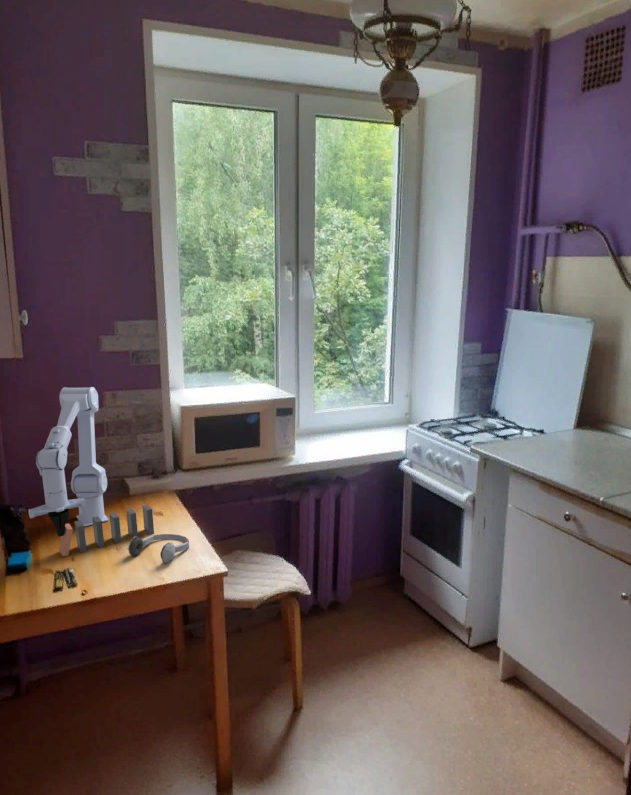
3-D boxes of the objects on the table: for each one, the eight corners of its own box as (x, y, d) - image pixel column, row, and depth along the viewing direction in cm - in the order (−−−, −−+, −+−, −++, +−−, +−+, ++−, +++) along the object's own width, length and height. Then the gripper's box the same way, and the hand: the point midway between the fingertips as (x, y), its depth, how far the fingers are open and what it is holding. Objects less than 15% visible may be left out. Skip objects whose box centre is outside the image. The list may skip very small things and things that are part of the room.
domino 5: (128, 533, 186) (126, 509, 184) (133, 532, 187) (131, 508, 185) (132, 538, 182) (130, 514, 180) (138, 537, 183) (135, 512, 181)
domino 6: (144, 529, 188) (142, 505, 187) (149, 528, 189) (147, 504, 187) (149, 534, 185) (147, 510, 183) (154, 533, 186) (152, 508, 184)
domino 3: (94, 542, 180) (92, 517, 178) (100, 540, 181) (97, 516, 179) (98, 547, 177) (96, 522, 175) (104, 546, 178) (101, 521, 176)
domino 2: (77, 546, 178) (74, 521, 176) (82, 545, 178) (80, 520, 177) (80, 552, 174) (78, 526, 172) (86, 551, 175) (83, 525, 173)
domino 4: (111, 537, 183) (109, 513, 181) (117, 536, 184) (114, 512, 182) (116, 543, 179) (113, 518, 178) (121, 541, 180) (119, 517, 178)
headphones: (157, 572, 161) (199, 550, 179) (158, 550, 160) (200, 531, 179) (105, 560, 167) (151, 541, 186) (105, 540, 167) (151, 522, 185)
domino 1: (59, 550, 175) (63, 523, 174) (64, 550, 176) (69, 523, 175) (62, 556, 171) (66, 529, 170) (68, 556, 172) (72, 529, 171)
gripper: (29, 500, 162) (35, 547, 165) (85, 488, 170) (90, 533, 173) (25, 492, 168) (30, 537, 171) (79, 481, 175) (84, 524, 178)
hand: (60, 534), depth 172 cm, fingers closed
